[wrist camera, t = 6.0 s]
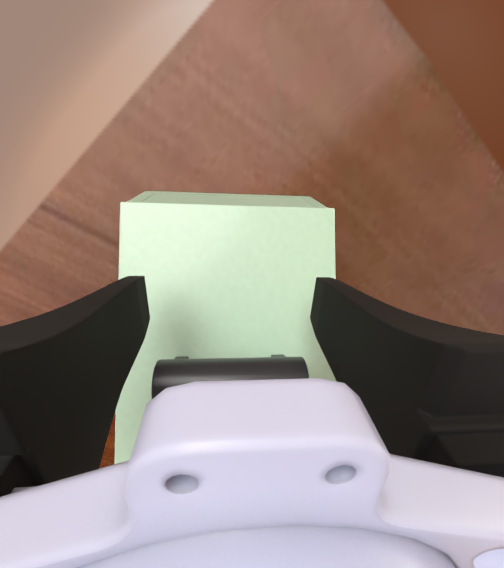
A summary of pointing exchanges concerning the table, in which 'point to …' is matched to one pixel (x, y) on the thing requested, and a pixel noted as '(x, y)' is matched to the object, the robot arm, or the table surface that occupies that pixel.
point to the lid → (222, 297)
